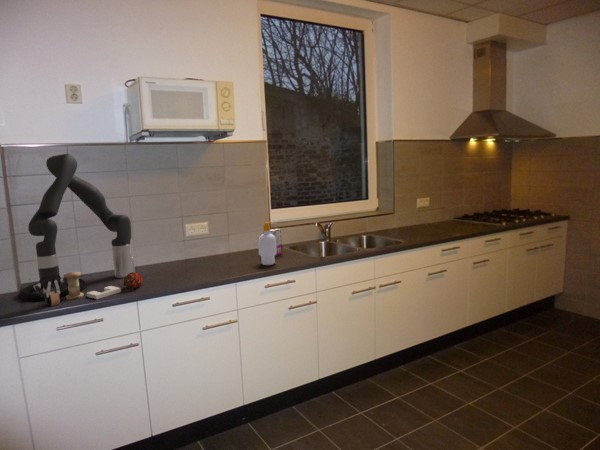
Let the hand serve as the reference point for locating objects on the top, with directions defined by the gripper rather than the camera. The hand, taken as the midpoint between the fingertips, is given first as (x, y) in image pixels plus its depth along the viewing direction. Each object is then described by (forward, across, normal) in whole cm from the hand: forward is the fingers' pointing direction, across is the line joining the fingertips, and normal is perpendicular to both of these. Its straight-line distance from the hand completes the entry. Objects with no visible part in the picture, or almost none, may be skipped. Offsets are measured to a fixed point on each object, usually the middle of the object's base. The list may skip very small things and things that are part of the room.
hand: (53, 303), depth 176 cm
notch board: (0, -19, +8) cm, 20 cm away
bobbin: (0, -10, -1) cm, 10 cm away
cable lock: (+1, -10, -20) cm, 22 cm away
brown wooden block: (0, 0, 0) cm, 0 cm away
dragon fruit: (+1, -32, +11) cm, 34 cm away
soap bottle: (+1, -98, +43) cm, 107 cm away
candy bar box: (+1, -116, +33) cm, 121 cm away
